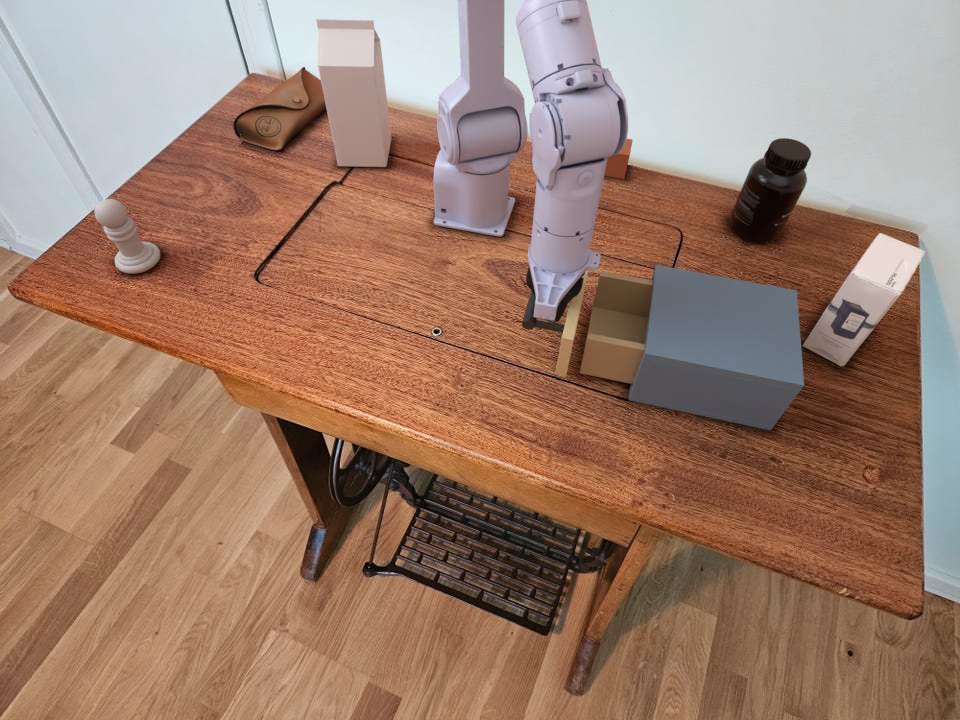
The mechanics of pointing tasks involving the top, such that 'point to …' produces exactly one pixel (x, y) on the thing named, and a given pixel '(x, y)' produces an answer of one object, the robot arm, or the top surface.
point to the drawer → (605, 327)
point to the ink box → (864, 298)
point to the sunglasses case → (282, 112)
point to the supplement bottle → (770, 191)
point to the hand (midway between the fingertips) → (550, 316)
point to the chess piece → (126, 238)
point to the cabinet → (720, 348)
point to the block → (619, 162)
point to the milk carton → (354, 91)
